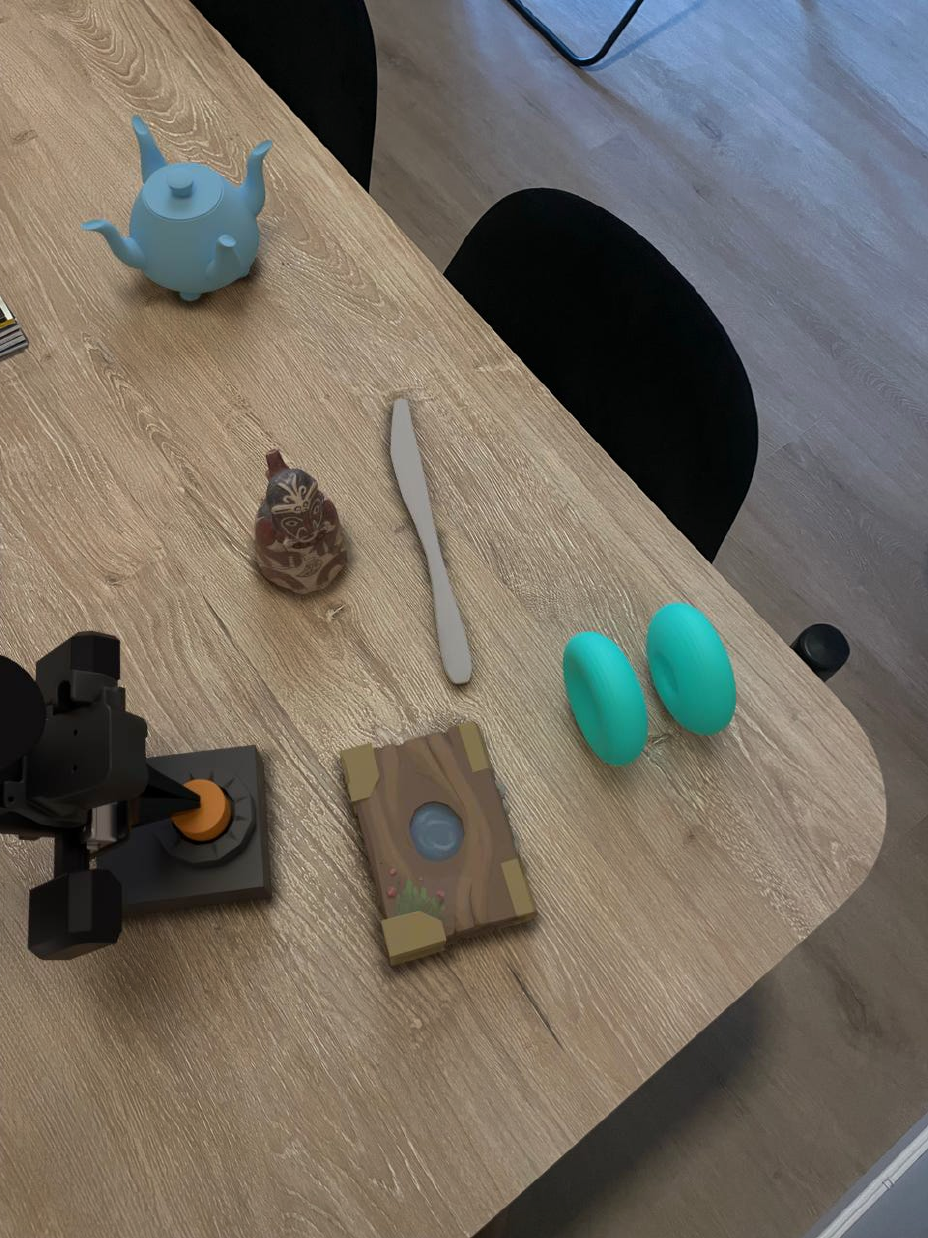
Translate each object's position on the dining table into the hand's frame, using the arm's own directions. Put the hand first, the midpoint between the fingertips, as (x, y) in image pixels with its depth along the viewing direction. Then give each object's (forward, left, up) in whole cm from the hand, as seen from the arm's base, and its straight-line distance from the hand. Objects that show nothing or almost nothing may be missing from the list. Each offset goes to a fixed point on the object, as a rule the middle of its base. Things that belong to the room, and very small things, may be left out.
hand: (197, 803), depth 70 cm
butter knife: (+24, +16, -8) cm, 30 cm away
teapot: (+17, +51, -9) cm, 54 cm away
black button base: (-2, +1, -8) cm, 9 cm away
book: (+14, -7, -9) cm, 18 cm away
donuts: (+32, -4, -9) cm, 33 cm away
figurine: (+14, +19, -9) cm, 25 cm away
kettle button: (0, 0, -3) cm, 3 cm away
